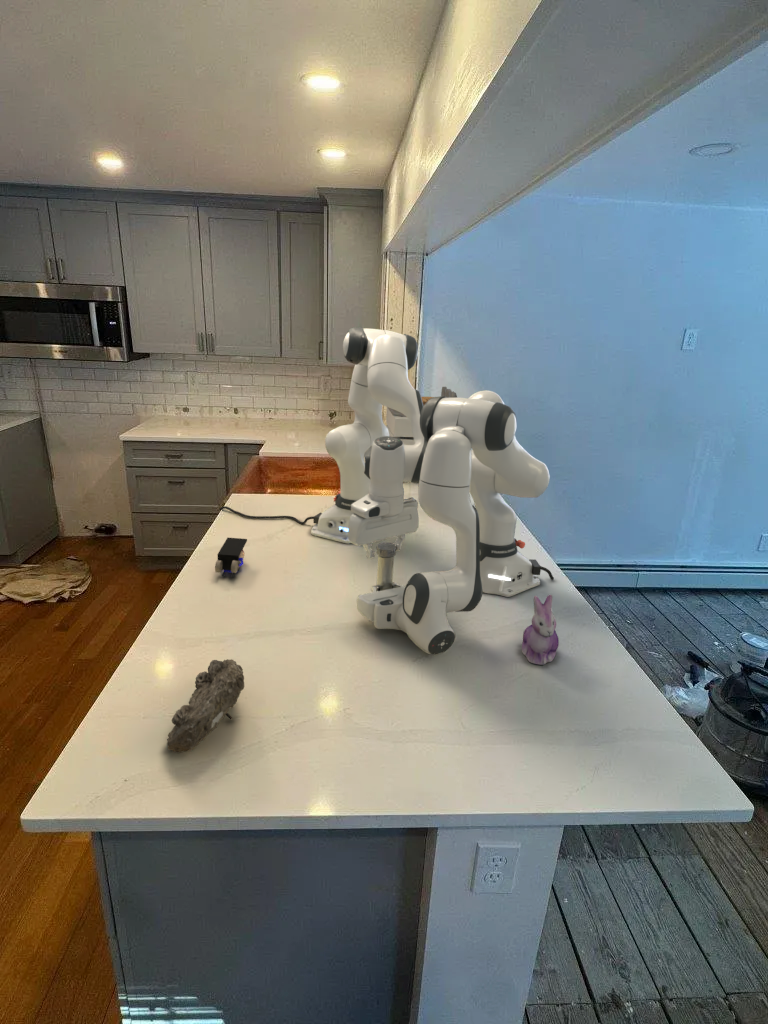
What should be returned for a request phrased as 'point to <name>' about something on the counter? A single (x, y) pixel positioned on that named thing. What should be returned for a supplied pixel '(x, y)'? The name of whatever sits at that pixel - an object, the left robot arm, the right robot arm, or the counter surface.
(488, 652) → the counter surface
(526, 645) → the figurine
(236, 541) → the figurine character
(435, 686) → the counter surface
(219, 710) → the fossil
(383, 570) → the beige cylinder
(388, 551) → the lid
